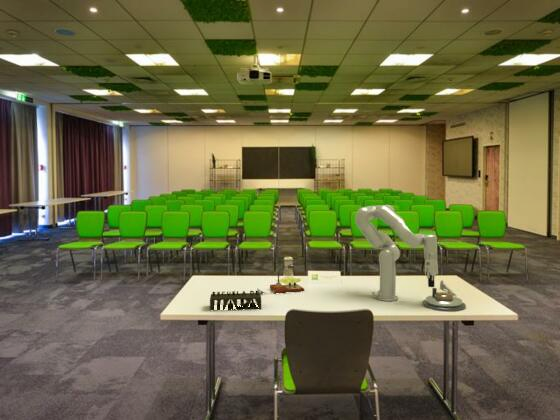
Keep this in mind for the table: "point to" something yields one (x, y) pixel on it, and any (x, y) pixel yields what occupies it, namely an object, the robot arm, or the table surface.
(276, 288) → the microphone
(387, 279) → the robot arm
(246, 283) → the table surface
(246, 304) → the sign
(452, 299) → the turntable
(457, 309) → the base
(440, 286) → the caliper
